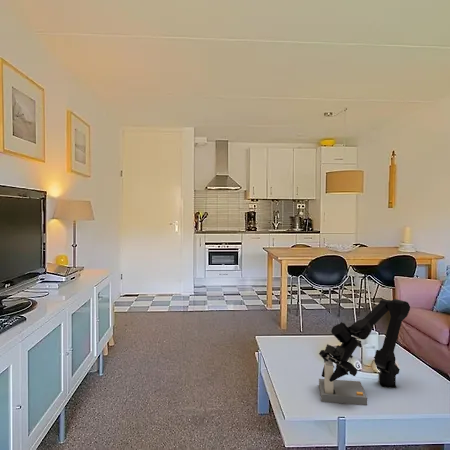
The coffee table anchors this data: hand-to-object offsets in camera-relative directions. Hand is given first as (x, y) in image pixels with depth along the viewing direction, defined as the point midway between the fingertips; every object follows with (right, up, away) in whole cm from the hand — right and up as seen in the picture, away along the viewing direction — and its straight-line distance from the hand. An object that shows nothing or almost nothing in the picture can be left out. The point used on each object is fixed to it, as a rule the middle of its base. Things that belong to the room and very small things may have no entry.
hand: (326, 378), depth 167 cm
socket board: (+8, -8, +4) cm, 12 cm away
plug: (+1, -7, +1) cm, 7 cm away
